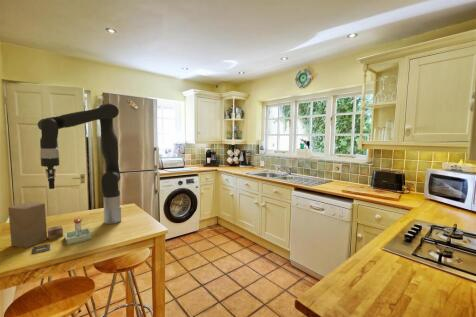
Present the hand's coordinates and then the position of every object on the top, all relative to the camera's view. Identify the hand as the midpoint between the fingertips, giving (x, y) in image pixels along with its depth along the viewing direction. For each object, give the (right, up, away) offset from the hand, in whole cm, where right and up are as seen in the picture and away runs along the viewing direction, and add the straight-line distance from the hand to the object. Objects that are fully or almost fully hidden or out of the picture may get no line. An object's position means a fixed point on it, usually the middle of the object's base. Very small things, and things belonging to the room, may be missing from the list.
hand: (51, 187), depth 120 cm
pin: (+12, -28, +3) cm, 31 cm away
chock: (-1, -28, +4) cm, 28 cm away
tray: (+12, -28, +3) cm, 31 cm away
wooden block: (-9, -29, -3) cm, 30 cm away
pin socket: (+3, -29, -9) cm, 31 cm away
